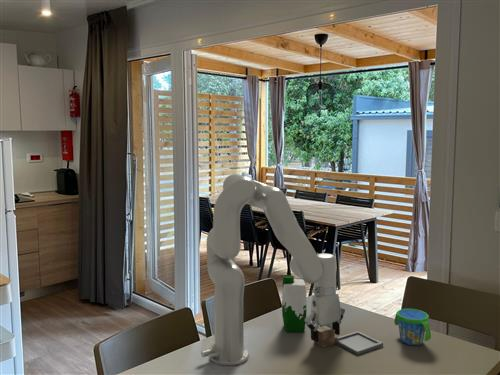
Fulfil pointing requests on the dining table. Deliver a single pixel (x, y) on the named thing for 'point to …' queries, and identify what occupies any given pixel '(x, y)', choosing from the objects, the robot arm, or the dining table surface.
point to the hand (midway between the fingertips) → (325, 337)
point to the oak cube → (325, 336)
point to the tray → (358, 342)
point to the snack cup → (413, 326)
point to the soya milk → (293, 304)
